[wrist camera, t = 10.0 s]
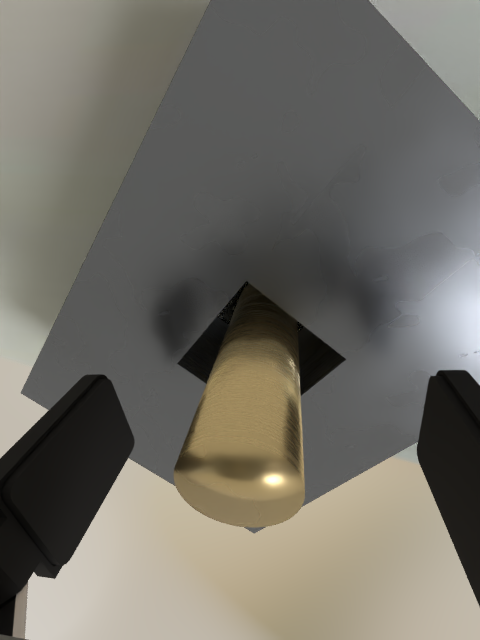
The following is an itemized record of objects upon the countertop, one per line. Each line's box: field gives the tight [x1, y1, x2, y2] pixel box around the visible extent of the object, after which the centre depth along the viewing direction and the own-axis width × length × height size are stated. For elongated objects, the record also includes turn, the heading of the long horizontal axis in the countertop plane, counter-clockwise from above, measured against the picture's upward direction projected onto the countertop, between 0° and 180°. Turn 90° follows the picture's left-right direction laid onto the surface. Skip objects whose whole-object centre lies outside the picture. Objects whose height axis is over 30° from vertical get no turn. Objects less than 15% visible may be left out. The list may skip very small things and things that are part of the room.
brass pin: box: [173, 284, 305, 527], centre depth 11 cm, size 3×3×10 cm
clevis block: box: [21, 0, 480, 533], centre depth 13 cm, size 14×18×5 cm
